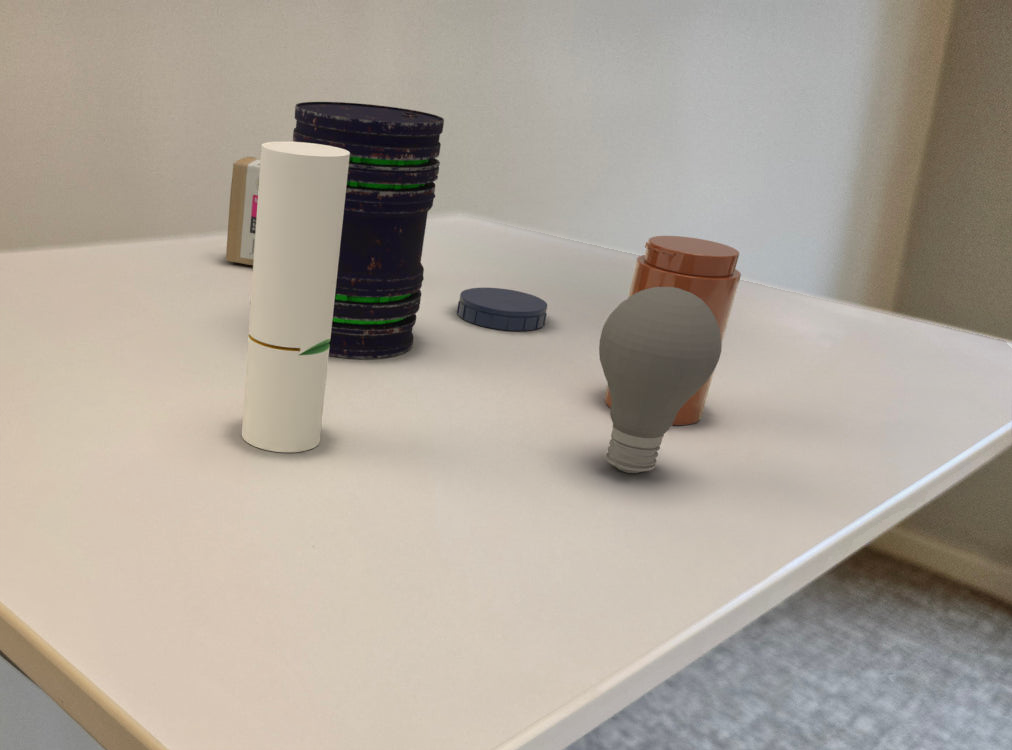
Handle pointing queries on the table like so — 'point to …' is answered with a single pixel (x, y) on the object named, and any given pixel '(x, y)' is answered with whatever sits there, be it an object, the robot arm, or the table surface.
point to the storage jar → (378, 219)
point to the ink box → (243, 211)
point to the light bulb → (654, 368)
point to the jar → (690, 289)
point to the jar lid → (502, 309)
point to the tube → (293, 293)
